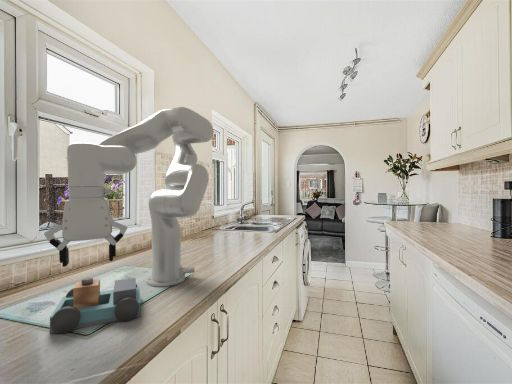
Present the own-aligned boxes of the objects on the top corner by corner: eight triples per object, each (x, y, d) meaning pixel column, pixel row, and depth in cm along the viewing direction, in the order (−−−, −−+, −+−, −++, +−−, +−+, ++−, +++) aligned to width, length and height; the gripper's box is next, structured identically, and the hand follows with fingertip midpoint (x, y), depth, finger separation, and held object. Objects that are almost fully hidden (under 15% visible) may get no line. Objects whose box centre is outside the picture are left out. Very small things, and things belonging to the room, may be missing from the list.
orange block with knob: (100, 305, 68) (100, 275, 68) (98, 313, 64) (98, 281, 64) (77, 309, 66) (77, 277, 66) (73, 318, 62) (73, 284, 62)
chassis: (139, 296, 77) (139, 274, 77) (140, 318, 63) (140, 291, 63) (63, 308, 69) (63, 283, 69) (48, 336, 56) (48, 305, 56)
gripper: (126, 192, 72) (128, 254, 72) (47, 194, 64) (50, 263, 65) (126, 193, 65) (127, 261, 66) (38, 195, 58) (41, 272, 58)
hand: (89, 262), depth 65 cm, fingers open, 9 cm apart
